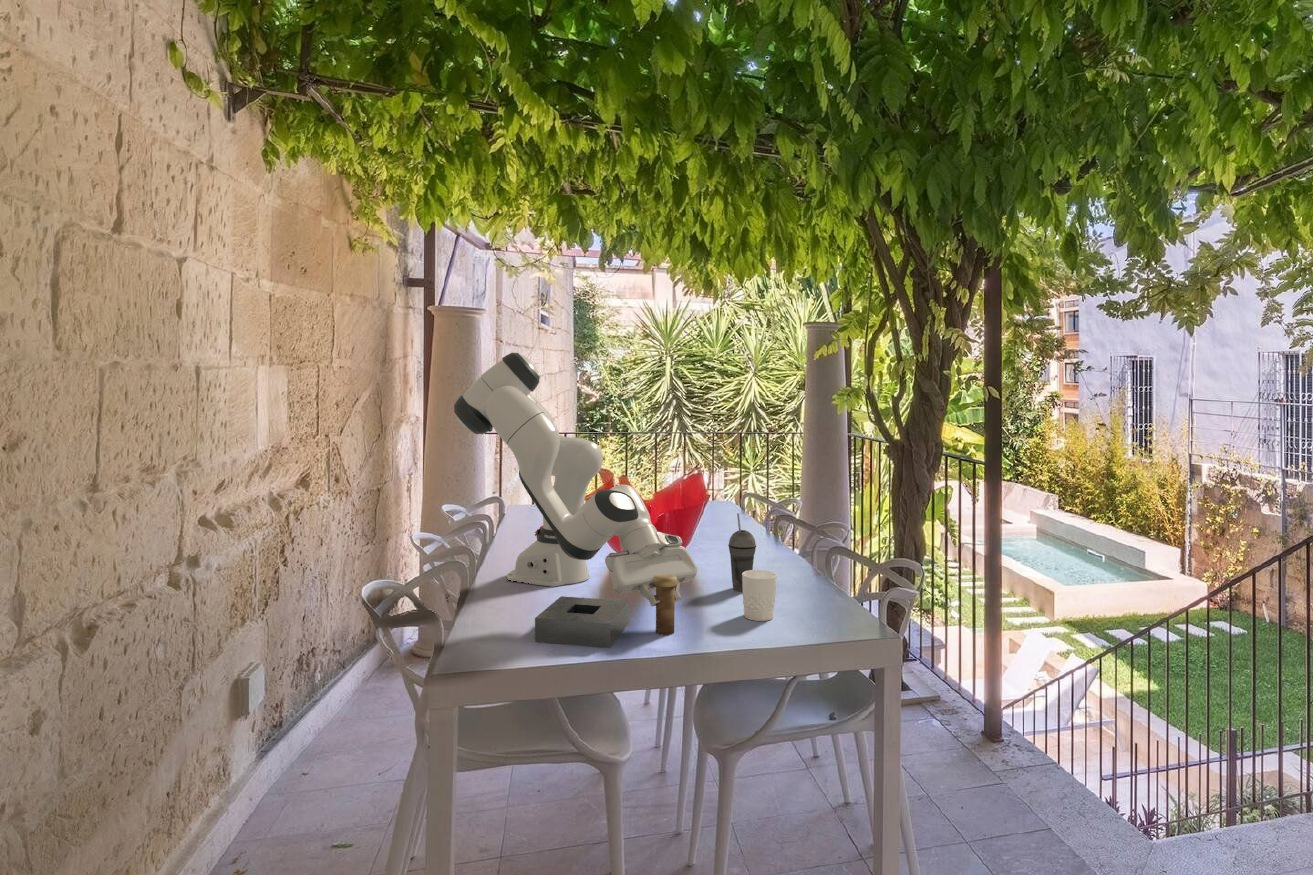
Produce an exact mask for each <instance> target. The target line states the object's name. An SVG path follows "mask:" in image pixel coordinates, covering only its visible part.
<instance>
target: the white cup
mask: <svg viewBox="0 0 1313 875" xmlns="http://www.w3.org/2000/svg"><path fill="white" fill-rule="evenodd" d="M777 578H778V577H777V573H776V572H774V571H771V570H770V571H769V570H767V569H766V570H764V569H753V570H749V571H745V572H743V573H742V586H743V592H742V604H743V616H744V617H745V619H747V620H749V621H755V622H767V621H771V620H773V619H774V616H775V605H776V596H777V595H776V594H777V580H778V579H777Z"/></svg>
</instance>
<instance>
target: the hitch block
mask: <svg viewBox="0 0 1313 875" xmlns="http://www.w3.org/2000/svg"><path fill="white" fill-rule="evenodd" d="M629 624H630V601H629V600H619V599H608V598H607V599H605V598H604V599H603V598H594V597H593V598H590V597H577V596H576V597H574V596H560V597H558V598H557V599H555V601H553V602H552V603H551V604H550V605H549V606H547V607H546V609H544V610H543V611H542V612H541V613H539V614H538V615H537V616H535V617H534V642H536V643H546V644H557V645H558V644H560V645H568V646H569V645H570V646H582V647H596V648H603V649H604V648H606V649H611V647H612V646H613V645H614V643H615V642H616V640H617V639H618V638H619V637H620V635H621V634H622V633H623V631H624V630H625V629H626V628H627V626H628V625H629Z"/></svg>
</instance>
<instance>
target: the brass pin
mask: <svg viewBox="0 0 1313 875" xmlns="http://www.w3.org/2000/svg"><path fill="white" fill-rule="evenodd" d="M654 585H655V586H656V588H655V595H658V597H659V599H660V603H659V605H657V606H655V633H656V634H657V633H658V635H660V634H663V635H662V636H669V634H671V635H673V634H674V633H675V613H676V612H675V608H676V607H675V604H676V602H675V586H676V585H677V576H675V575H670V574H662V575H656V576H654ZM672 633H673V634H672Z"/></svg>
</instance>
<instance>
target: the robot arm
mask: <svg viewBox="0 0 1313 875" xmlns="http://www.w3.org/2000/svg"><path fill="white" fill-rule="evenodd" d="M539 384H540V374H539V371H538V369H537V367H536V365H535V364H534V363H533V361H532V360H531V359H530V358H528V357H526V356H525V355H523V354H520V353H519V352H511V353H508V354H507V355H505V356H503V357H502V358H501V360H500V361H498V362H496V363H495V364H494V365H492V366H491V367H490V368H488V369H487V370H486V371H485V372H483V373H482V374H481V375H480V377H479V378H478V379H477V380H476V381H475V382H473V384H472V385H471V386H470V387H469V388H468V389H467V390H466V391H465V393H464V394H461V395H460V396H459V397H458V399H457V400H456V401H455V403H454V405H453V412H454V414H455V416H456V419H457V422H459V424H460V425H461V426H462V427H463V428H464V429H466V430H468V431H469V432H471V433H473V434H475V435H484V434H487V433H491V432H493V430H495V433H496V434H497V435H498V436H499V437H500V438H501V440H502V441H503V442H504V443H505V444H506V446H507V447H508V448H509V449H510V451H511V453H512V454H513V456H514V458H515V459H516V462H517V465H518V466H517V467H518V477H519V479H520V481H521V483H522V484H521V485H523V487H524V489H525V490H526V493H527V494H528V495H529V497H530V499H531V500H532V502H533V503H534V505H535V506H536V507H537V509H538V511H539V512H540V513H541V515H542V525H541V526H540V527H539V528H537V529H536V530H535V531H534V537H536V540H535V541H534V542H533V543H531V544H530V545H529V546H527V547H526V548H525V549H524V550H523V551H522V552H520V553H519V554H518V556H517V558H516V561H515V565H514V569H512V570H510V572H508V573H507V575H506V580H507V579H508V580H511V581H510V582H513V581H517V582H516V583H521V582H524V583H523V584H528V583H529V585H530V584H531V585H537V586H546V587H559V586H563V585H570V584H577V583H581V582H584V581H586V580H588V579H590V577H591V576H590V574H589V570H588V565H587V561H589V560H591V559H593V558H594V557H595V556H596V555H597V554H598V552H599V551H600V549H602V548H603V546H605V544H606V543H608V541H610V540H611V538H613V537H614V536H617V537H618V538H619V543H620V547H621V549H622V551H617V552H610V553H609V554H608V555H606V556H605V558H604V563H605V565H606V568H607V569H608V571H609V576H610V580H611V584H612V587H613V590H614V591H615V592H616V593H617V594H624V593H625V594H626V593H631V592H636V591H639V592H640V594H641V595H642V596H643V597H644V598H645V599H646V600H648V602H649V604H650V607H656V606H657V605H659V603H660V599H659V597H658V595H656V594H654V593H653V592H652V591H651V590H650V589H656V586H655V585H654V576H656V575H662V574H670V575H675V576H677V585H676V586H675V603H678V602H680V601H681V600H682V596H681V593H680V586H681V585H680V584H684V583H690V582H692V581H693V580H694V579H695V578H696V576H697V574H698V568H697V565H696V563H695V561H694V559H693V557H692V555H691V554H690V552H689V550H688V549H687V548H686V547H684V546H682V544H683V540H682V538H681V537H680V536H679V535H673V534H669V533H665V532H661V531H658V530H657V528H656V527H655V525H654V524H653V523H652V521H651V516H650V513H649V510H648V509H647V507H646V505H645V502H644V501H643V498H642V497H641V496H640V495H639V493H638V491H637V490H636V489H635V488H634V486H633V487H632V485H628V484H618V485H615V486H613V487H611V488H610V489H599V490H597V491H596V492H595V493H593V495H592V496H591V497H590V498H588V499H587V500H586V502H585V498H586V493H587V489H588V487H589V484H590V483H591V481H592V480H593V478H594V477H596V476H597V475H598V473H599V472H600V471H601V469H602V466H603V462H604V456H603V451H602V449H601V447H600V446H599V445H598V444H597V443H595V442H593V441H591V440H589V439H585V438H582V437H573V436H572V437H570V436H563V435H562V434H560V431H559V429H558V427H557V426H556V424H555V422H554V418H553V415H552V414H550V412H549V411H548V410H547V409H546V408H545V407H544V406H543V405H542V404H541V403H540V401H538V399H537V398H536V397H534V395H533V394H532V393H533V392H534V391H535V390H536V389H537V387H538V386H539ZM531 392H532V393H531ZM552 477H554V484H553V482H552ZM508 580H507V581H508Z"/></svg>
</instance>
